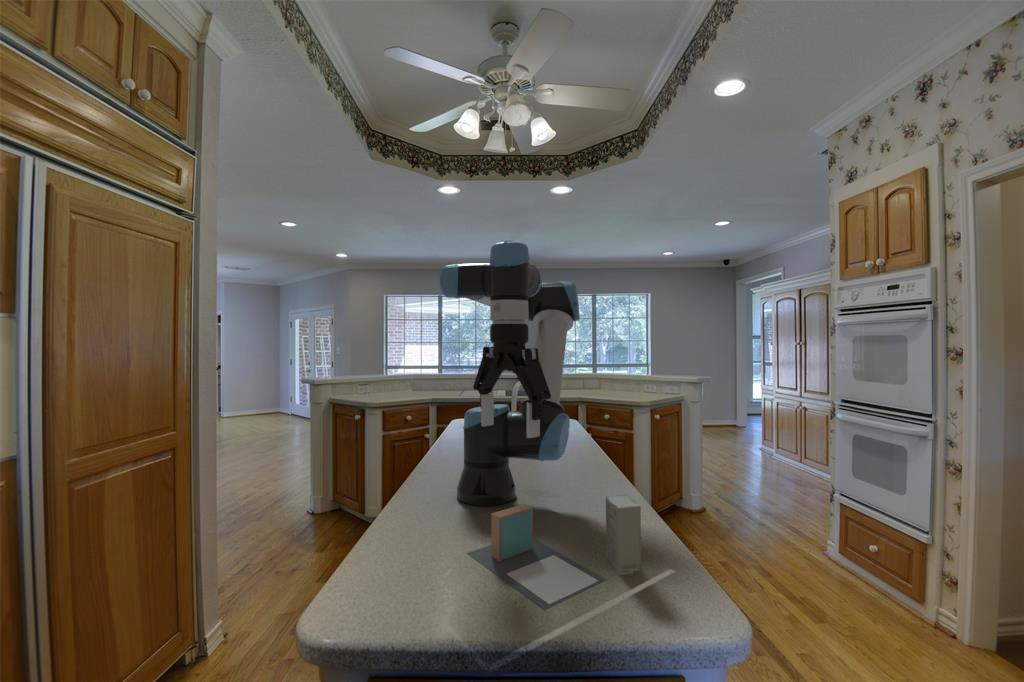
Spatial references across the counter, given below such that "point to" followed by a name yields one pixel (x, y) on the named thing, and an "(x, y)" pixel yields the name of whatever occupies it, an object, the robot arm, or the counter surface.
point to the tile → (511, 532)
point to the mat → (540, 574)
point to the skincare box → (623, 534)
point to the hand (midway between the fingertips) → (509, 431)
